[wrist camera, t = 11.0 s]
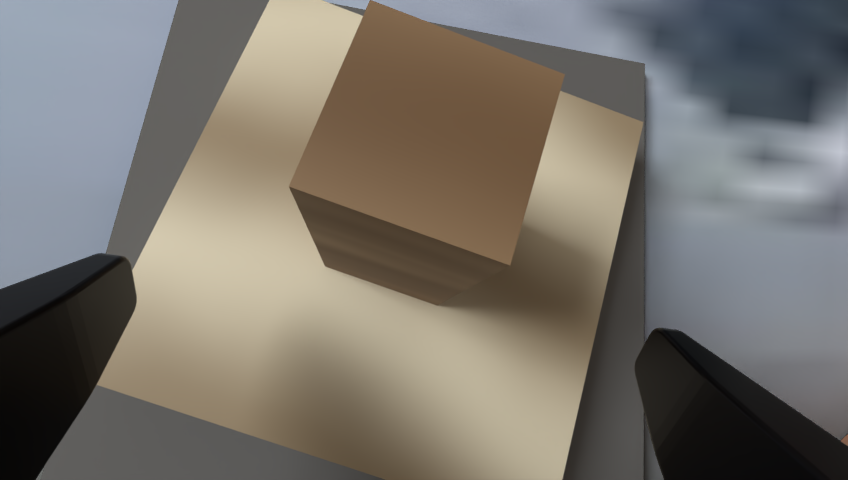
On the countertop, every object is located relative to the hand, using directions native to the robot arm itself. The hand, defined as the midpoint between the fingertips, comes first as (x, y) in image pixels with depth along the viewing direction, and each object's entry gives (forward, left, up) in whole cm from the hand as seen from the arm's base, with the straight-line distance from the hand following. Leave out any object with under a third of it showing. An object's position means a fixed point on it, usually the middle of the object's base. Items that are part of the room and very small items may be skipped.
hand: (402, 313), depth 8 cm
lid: (+1, +2, -5) cm, 5 cm away
